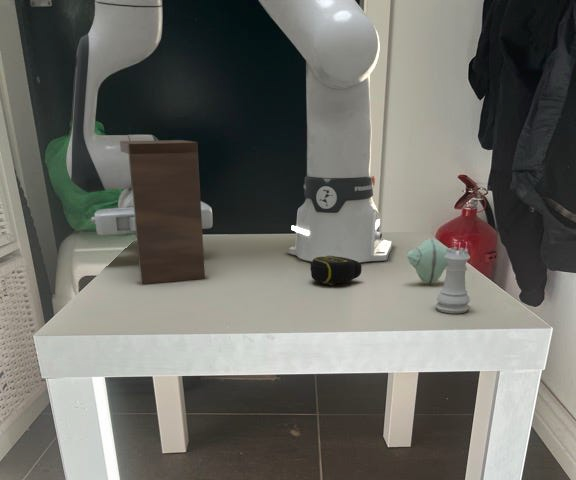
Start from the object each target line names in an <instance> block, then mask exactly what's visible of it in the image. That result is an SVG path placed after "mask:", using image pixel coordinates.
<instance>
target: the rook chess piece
mask: <svg viewBox="0 0 576 480" xmlns="http://www.w3.org/2000/svg"><path fill="white" fill-rule="evenodd" d="M447 248H448V247H447ZM444 257H445V259H446V261H447V266H446V267H445V269H444V270H445V271H446V272H445V277H444V282H443V287H442V289H441V290H440V293H438V294H437V297H436V301H437V303H435V308H436V309H437V310H438V311H439V312H441V313H445V314H453V315H455V314H464V313H467V312H468V310H470V307H471V306H470V305H469V303H470V302H471V298H470V296H469V295H468V291H467V288H466V272H467V270H468V268H467V265H466V264H467V262H468V261H469V260H470V259H471V256H470V254H469V249H468V248H464V247H460V248H459V250H458V247H449V248H448V252H447V254H446V255H445V256H444Z"/></svg>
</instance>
